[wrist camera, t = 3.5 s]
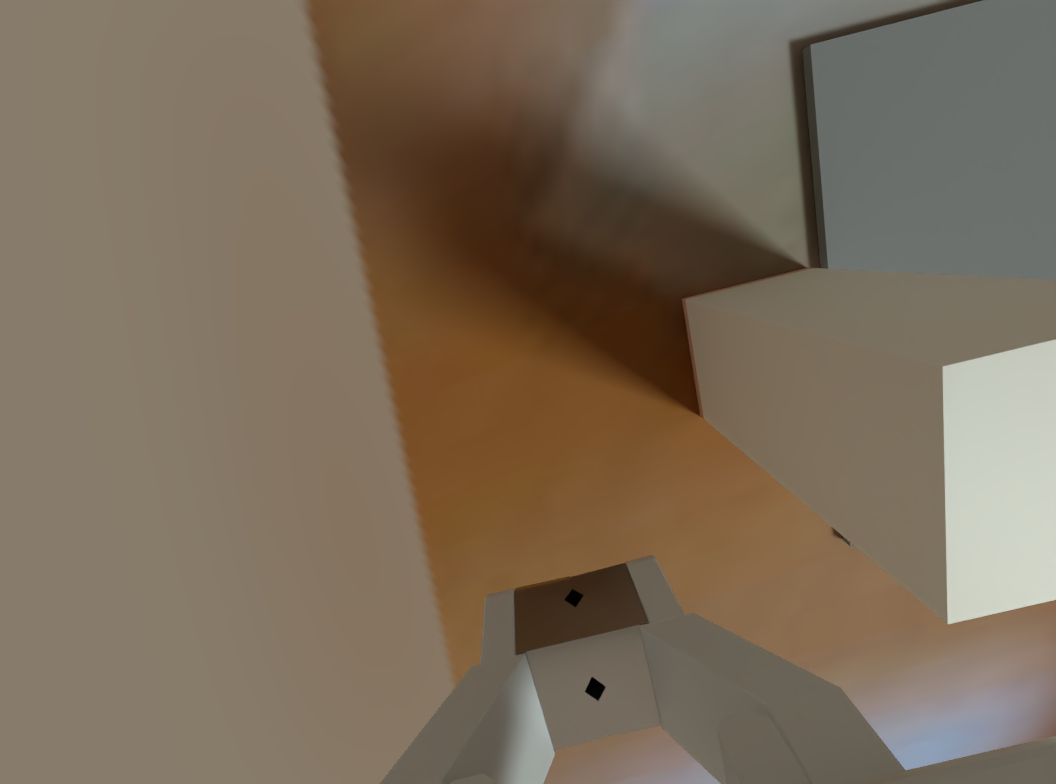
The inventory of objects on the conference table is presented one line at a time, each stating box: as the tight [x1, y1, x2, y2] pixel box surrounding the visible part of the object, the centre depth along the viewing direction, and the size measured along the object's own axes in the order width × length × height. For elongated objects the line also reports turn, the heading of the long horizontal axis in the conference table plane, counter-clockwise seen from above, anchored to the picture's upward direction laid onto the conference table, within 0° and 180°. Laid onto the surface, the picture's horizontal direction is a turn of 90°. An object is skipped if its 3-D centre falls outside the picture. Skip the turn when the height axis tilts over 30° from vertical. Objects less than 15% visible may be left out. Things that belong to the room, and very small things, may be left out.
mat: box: [802, 0, 1056, 546], centre depth 20 cm, size 20×16×1 cm
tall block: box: [682, 268, 1056, 624], centre depth 15 cm, size 5×5×12 cm
